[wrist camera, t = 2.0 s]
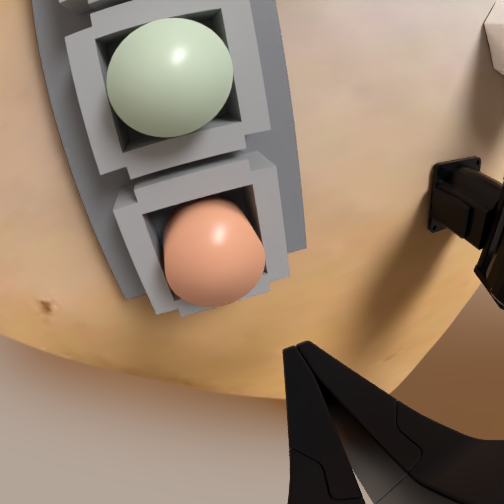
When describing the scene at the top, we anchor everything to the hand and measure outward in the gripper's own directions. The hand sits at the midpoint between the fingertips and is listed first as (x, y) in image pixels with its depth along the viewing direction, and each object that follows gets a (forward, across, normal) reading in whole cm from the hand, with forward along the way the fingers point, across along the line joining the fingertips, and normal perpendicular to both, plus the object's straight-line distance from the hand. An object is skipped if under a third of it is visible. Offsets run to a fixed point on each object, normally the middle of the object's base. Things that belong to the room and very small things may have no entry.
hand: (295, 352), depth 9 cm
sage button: (+9, +1, -8) cm, 12 cm away
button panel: (+12, +1, -8) cm, 15 cm away
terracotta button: (+9, +1, 0) cm, 9 cm away
